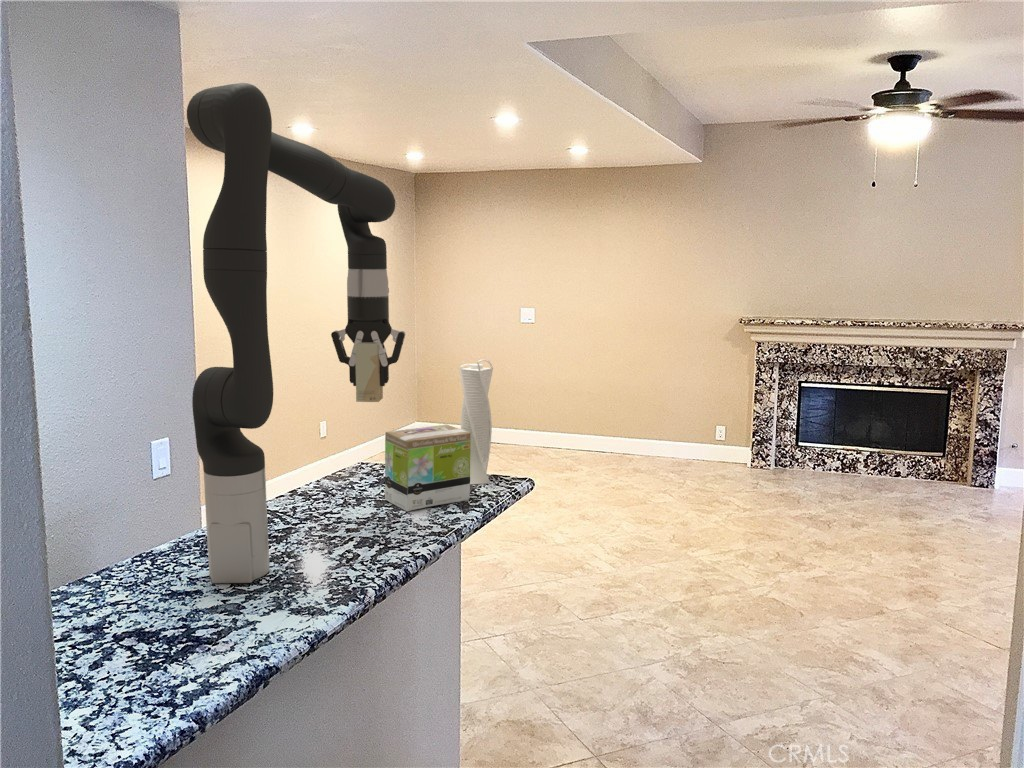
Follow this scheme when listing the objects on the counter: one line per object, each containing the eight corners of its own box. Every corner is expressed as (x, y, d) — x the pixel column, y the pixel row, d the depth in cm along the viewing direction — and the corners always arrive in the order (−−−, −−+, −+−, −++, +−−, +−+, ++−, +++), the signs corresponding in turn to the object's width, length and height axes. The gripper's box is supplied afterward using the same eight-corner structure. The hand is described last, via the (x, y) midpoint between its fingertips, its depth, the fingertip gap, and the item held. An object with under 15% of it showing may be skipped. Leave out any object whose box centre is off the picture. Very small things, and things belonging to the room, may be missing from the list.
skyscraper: (496, 485, 183) (496, 359, 179) (463, 487, 182) (462, 360, 177) (489, 475, 191) (489, 354, 186) (457, 477, 189) (456, 355, 185)
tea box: (408, 513, 164) (407, 440, 161) (384, 500, 172) (382, 431, 169) (471, 500, 173) (471, 430, 170) (446, 488, 181) (445, 422, 178)
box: (378, 402, 153) (377, 343, 152) (355, 402, 154) (354, 342, 152) (383, 397, 159) (382, 340, 157) (361, 397, 159) (360, 339, 157)
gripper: (325, 294, 149) (327, 388, 152) (405, 295, 150) (406, 389, 152) (332, 292, 156) (334, 382, 159) (408, 293, 157) (409, 382, 160)
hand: (369, 385), depth 156 cm, fingers closed on box, 4 cm apart
